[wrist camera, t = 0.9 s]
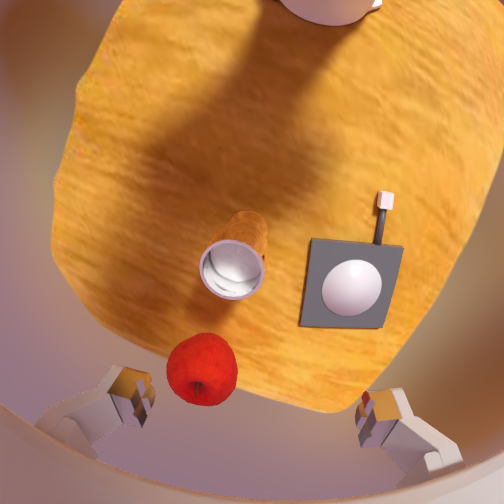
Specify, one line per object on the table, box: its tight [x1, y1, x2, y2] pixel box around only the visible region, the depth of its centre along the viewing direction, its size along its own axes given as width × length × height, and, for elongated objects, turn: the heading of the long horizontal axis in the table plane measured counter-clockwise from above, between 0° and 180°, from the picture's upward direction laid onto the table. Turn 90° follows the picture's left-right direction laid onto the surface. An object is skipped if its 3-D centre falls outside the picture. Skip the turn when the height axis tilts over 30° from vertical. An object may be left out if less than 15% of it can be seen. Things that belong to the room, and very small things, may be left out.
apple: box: [167, 333, 238, 406], centre depth 43 cm, size 12×12×13 cm
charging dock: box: [300, 191, 404, 328], centre depth 41 cm, size 23×15×2 cm, turn 178°
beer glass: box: [199, 210, 269, 300], centre depth 34 cm, size 7×7×15 cm
